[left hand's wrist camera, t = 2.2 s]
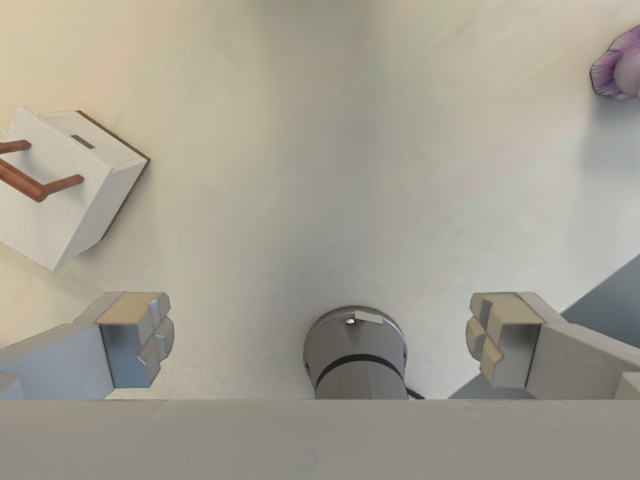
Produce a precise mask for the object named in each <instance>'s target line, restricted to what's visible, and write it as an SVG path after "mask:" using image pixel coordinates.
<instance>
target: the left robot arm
mask: <svg viewBox="0 0 640 480" xmlns="http://www.w3.org/2000/svg"><path fill="white" fill-rule="evenodd" d="M170 308H171V307H170V302H169V297H168V296H167V294H166V293H155V292H105V293H104V294H103V295H102V296H101V297H100V298H99V299H98V300H96V301H95V302H94V303H93V304H92V305H91V306H90V307H89V308H88V309H86V310H85V311H84V312H83V313H82V314H81V315H80V316H79V317H78V318H76V319H75V320H74V321H73V322H72V323H71V324H63V325H60V326H58V327H55V328H53V329H50V330H47V331H45V332H42V333H40V334H37V335H35V336H32V337H30V338H27V339H25V340H22V341H20V342H17V343H15V344H12V345H10V346H7V347H5V348H2V349H0V480H640V349H638V348H635V347H633V346H630V345H628V344H625V343H623V342H620V341H618V340H615V339H613V338H610V337H608V336H605V335H602V334H600V333H597V332H595V331H592V330H590V329H587V328H585V327H582V326H580V325H577V324H569V323H568V322H567V321H566V320H565V319H564V318H563V317H561V316H560V315H559V314H558V313H557V312H556V311H555V310H554V309H553V308H551V307H550V306H549V305H548V304H547V303H546V302H545V301H544V300H543V299H541V298H540V297H539V296H538V295H537V294H536V293H534V292H488V293H474V294H473V295H472V298H471V301H470V307H469V308H470V310H471V311H472V313H473V314H474V315H473V316H472V318H471V319H470V320H469V321H468V322H467V326H466V343H467V346H468V350H469V352H470V354H471V355H472V357H473V358H474V359H476V360H478V361H479V362H480V368H479V369H480V371H481V373H482V374H483V376H484V378H485V379H486V381H487V383H488V384H489V386H490V387H491V388H526V391H528V392H529V393H530V394H532V395H533V396H534V397H536V398H537V399H535V400H102V399H103V398H104V397H106V396H107V395H109V394H110V393H111V392H113V391H114V388H150V386H151V384H152V383H153V381H154V379H155V378H156V376H157V374H158V373H159V371H160V369H161V368H160V362H161V361H162V360H164V359H166V358H167V357H168V355H169V354H170V352H171V350H172V346H173V342H174V325H173V322H172V321H171V320H170V319H169V318H168V316H167V315H166V314H167V313H168V311H169V310H170Z"/></svg>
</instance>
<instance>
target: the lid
mask: <svg viewBox="0 0 640 480" xmlns="http://www.w3.org/2000/svg"><path fill="white" fill-rule="evenodd" d="M114 169H115V166H114V165H113V164H111V163H110V162H108V161H107V160H105V159H104V158H102V157H101V156H99V155H98V154H96V153H95V152H93V151H92V150H90V149H89V148H87V147H86V146H84V145H83V144H81V143H80V142H78V141H77V140H75V139H74V138H72V137H71V136H69V135H68V134H66V133H65V132H63V131H62V130H60V129H59V128H57V127H56V126H54V125H53V124H51V123H50V122H48V121H47V120H45V119H44V118H42V117H41V116H39V115H38V114H36V113H35V112H33V111H32V110H30V109H29V108H27V107H18V109H17V112H16V114H15V116H14V118H13V120H12V123H11V125H10V127H9V129H8V131H7V134H6V136H5V138H4V140H3V142H2V143H0V242H1V243H3V244H5V245H7V246H8V247H10V248H12V249H14V250H15V251H17V252H19V253H20V254H22V255H24V256H26V257H27V258H29V259H31V260H32V261H34V262H36V263H38V264H39V265H41V266H43V267H45V268H46V269H48V270H50V271H51V272H53V271H55V270H56V269H58V267H59V266H60V264H61V262H62V260H63V259H64V257H65V255H66V253H67V251H68V250H69V248H70V246H71V244H72V243H73V241H74V239H75V237H76V236H77V234H78V232H79V230H80V229H81V227H82V225H83V223H84V222H85V220H86V218H87V216H88V215H89V213H90V211H91V209H92V208H93V206H94V204H95V202H96V201H97V199H98V197H99V195H100V194H101V192H102V190H103V188H104V187H105V185H106V183H107V181H108V180H109V178H110V176H111V174H112V172H113V171H114Z"/></svg>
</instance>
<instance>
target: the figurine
mask: <svg viewBox="0 0 640 480" xmlns="http://www.w3.org/2000/svg"><path fill="white" fill-rule="evenodd" d="M591 69H592V70H591V75H592V76H591V77H592V79H593V84H594V85H593V86H594V88H595V91H596V92H597V93H598V94H601V95H611V96H612V97H613V98H614V99H617V100H624V99H630V98H635V97H638V99H639V100H640V25H638V26H636V27H635V28H633V29H631V30H629V31H628V32H626V33H624V34H623V35H622V36H620V37H619V38H618V39H616V40H615V41H614V42H613V44H612V45H611V46H610V48H609V49H608V51H607V52H606V53H605V54H604V55H603V56H602V57H601V58H600V59H599V60H597V61H596V62H595V64H594V65H593V66H592V68H591Z"/></svg>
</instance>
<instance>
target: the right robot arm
mask: <svg viewBox="0 0 640 480" xmlns="http://www.w3.org/2000/svg"><path fill="white" fill-rule="evenodd" d="M303 360H304V366H305V369H306V372H307V374H308V376H309V377H310V380H311V382H312V385H313V387H314V389H315V400H409V398H408V394H409V395H411V396H413V397H414V398H416V399H418V400H425V398H424V397H422V396H420V395H418V394H417V393H415V392H413V391H412V390H410V389H408V388H407V387H405V384H404V381H403V380H404V374H405V366H406V361H407V347H406V343H405V340H404V337H403V335H402V332H401V330H400V328H399V327H398V325H397V324H396V323H395V322H394V321H393V320H392V319H391V318H390V317H389V316H387V315H386V314H384V313H382V312H380V311H378V310H376V309H373V308H369V307H363V306H349V307H343V308H339V309H336V310H333V311H331V312H329V313H327V314H325V315H324V316H322V317H321V318H320V319H319V320H317V321H316V322H315V323H314V325H313V326H312V327H311V329H310V330H309V332H308V334H307V336H306V339H305V343H304V354H303Z"/></svg>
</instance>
